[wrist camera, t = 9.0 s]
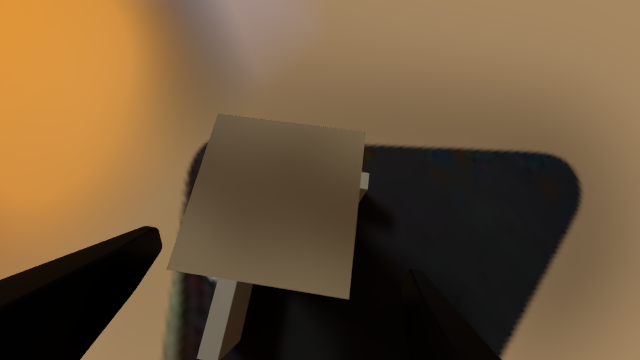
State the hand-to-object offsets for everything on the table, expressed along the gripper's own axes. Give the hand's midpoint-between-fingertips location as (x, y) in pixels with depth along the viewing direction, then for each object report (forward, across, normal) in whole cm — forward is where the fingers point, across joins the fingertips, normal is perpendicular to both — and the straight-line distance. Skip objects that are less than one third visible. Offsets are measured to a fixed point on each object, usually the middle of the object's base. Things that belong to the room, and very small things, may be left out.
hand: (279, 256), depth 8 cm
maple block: (+9, 0, +6) cm, 11 cm away
